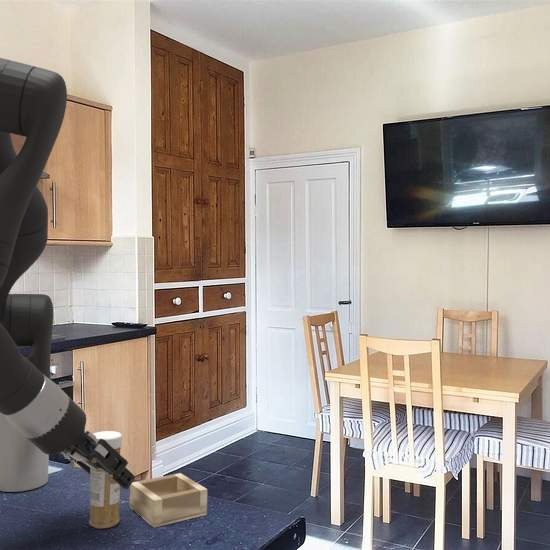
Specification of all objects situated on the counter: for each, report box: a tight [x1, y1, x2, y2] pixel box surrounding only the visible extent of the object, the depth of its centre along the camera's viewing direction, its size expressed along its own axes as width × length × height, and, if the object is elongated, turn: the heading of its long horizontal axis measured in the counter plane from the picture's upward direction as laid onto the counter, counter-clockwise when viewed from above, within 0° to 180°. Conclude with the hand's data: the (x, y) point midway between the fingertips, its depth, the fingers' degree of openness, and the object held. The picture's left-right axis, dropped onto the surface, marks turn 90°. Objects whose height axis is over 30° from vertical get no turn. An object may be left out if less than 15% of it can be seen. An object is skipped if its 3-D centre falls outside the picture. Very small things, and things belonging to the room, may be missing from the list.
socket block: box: [129, 472, 208, 529], centre depth 98 cm, size 9×9×4 cm
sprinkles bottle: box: [88, 430, 123, 529], centre depth 93 cm, size 5×5×14 cm
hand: (112, 476), depth 94 cm, fingers open, 8 cm apart
